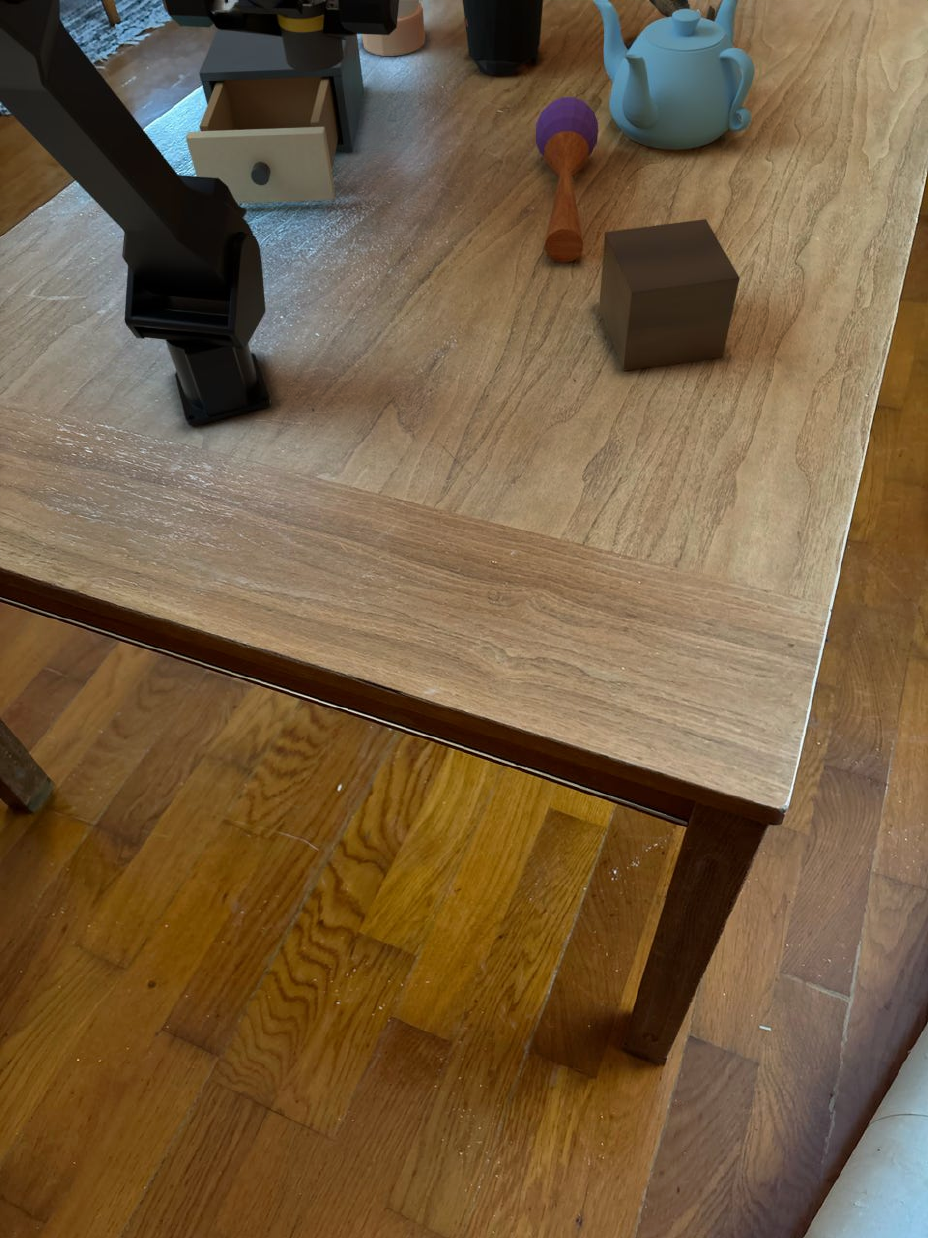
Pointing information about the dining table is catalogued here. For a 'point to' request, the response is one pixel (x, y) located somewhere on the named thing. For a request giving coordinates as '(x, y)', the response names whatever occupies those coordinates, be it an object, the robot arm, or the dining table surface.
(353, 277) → the dining table surface
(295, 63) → the canister
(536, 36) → the portable speaker
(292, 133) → the drawer
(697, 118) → the teapot
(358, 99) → the cabinet
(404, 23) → the pepper shaker
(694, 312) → the block stand
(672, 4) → the eagle figurine
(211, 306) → the robot arm
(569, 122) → the purple maraca
